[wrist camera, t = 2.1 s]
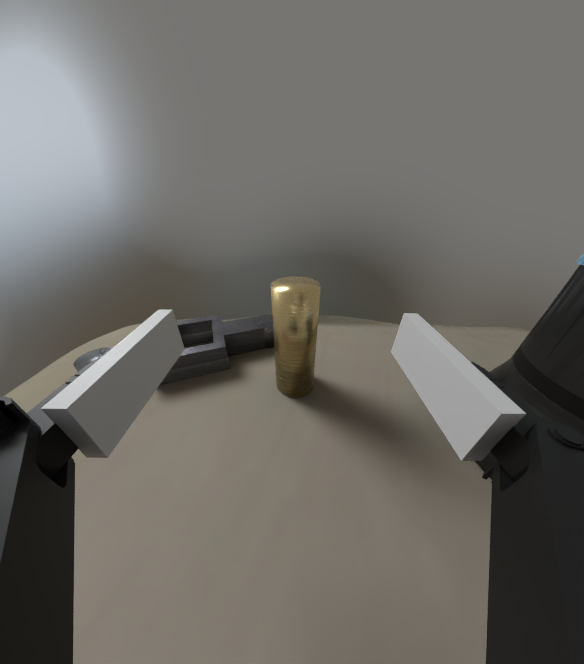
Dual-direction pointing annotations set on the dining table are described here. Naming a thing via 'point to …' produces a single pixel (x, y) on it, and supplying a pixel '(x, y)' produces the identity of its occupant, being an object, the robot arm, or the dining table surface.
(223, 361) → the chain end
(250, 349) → the chain end
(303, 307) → the gold tall cylinder
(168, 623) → the dining table surface
